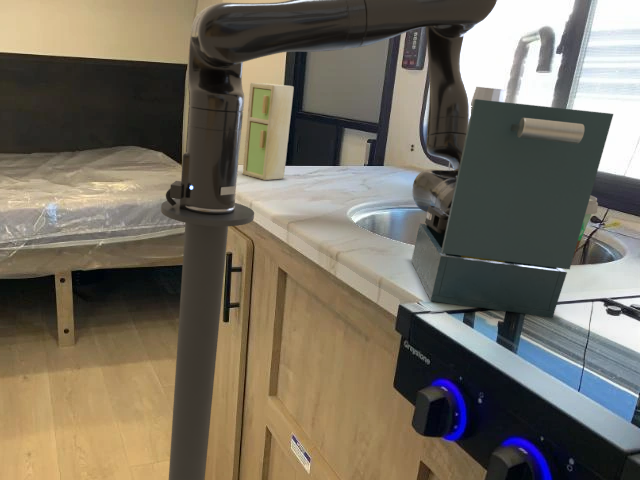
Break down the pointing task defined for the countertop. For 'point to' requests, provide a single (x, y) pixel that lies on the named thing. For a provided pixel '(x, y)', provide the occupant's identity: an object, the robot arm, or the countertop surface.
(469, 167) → the freezer lid
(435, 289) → the freezer
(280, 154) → the toy refrigerator
